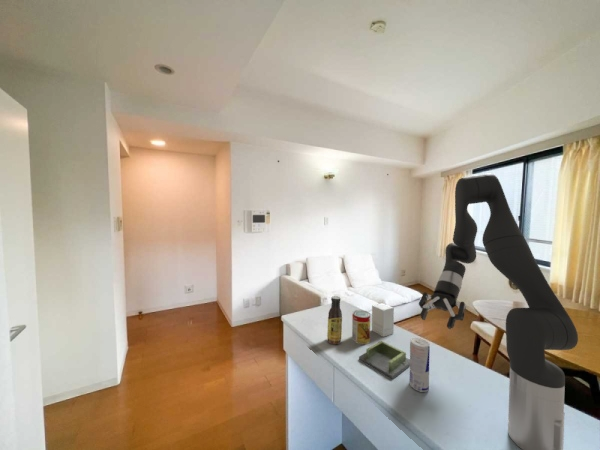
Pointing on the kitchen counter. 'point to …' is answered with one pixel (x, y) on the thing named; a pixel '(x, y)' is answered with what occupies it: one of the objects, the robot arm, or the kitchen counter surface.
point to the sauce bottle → (334, 321)
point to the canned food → (361, 326)
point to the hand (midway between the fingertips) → (435, 323)
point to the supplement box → (382, 319)
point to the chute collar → (386, 359)
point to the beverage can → (419, 364)
